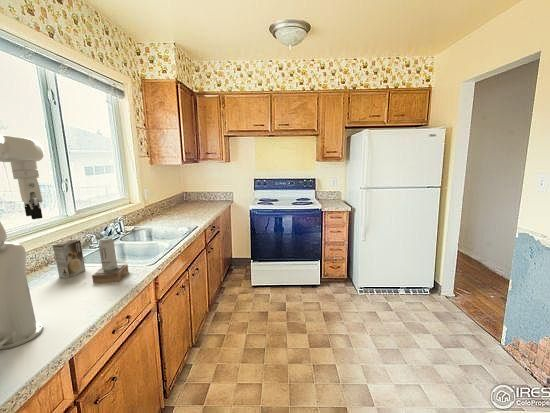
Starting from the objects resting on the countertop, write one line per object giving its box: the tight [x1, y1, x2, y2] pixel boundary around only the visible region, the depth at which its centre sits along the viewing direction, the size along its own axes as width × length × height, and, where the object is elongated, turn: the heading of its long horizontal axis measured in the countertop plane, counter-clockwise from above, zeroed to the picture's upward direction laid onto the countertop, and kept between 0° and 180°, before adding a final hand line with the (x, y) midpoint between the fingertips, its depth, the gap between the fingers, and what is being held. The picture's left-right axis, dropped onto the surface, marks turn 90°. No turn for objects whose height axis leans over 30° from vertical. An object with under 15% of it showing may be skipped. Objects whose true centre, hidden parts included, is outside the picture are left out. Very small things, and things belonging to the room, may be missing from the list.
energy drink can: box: [98, 236, 118, 271], centre depth 129 cm, size 6×6×15 cm
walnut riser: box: [91, 263, 129, 284], centre depth 131 cm, size 11×11×4 cm
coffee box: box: [52, 239, 86, 279], centre depth 136 cm, size 9×6×16 cm
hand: (34, 217), depth 111 cm, fingers open, 9 cm apart
